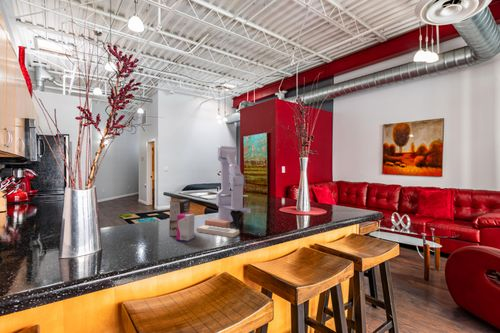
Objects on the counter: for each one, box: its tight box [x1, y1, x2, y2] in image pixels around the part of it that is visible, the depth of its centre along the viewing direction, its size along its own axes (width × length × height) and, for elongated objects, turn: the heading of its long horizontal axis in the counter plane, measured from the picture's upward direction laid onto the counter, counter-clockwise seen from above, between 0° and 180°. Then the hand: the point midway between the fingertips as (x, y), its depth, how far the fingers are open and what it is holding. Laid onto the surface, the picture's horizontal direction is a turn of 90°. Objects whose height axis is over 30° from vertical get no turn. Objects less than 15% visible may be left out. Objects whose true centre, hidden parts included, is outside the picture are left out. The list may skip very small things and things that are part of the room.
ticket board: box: [196, 224, 240, 238], centre depth 129 cm, size 7×20×2 cm, turn 67°
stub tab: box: [204, 218, 231, 228], centre depth 137 cm, size 5×12×4 cm, turn 67°
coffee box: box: [168, 198, 191, 237], centre depth 125 cm, size 9×6×16 cm
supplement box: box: [176, 212, 195, 243], centre depth 117 cm, size 6×6×12 cm
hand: (236, 225), depth 132 cm, fingers closed
